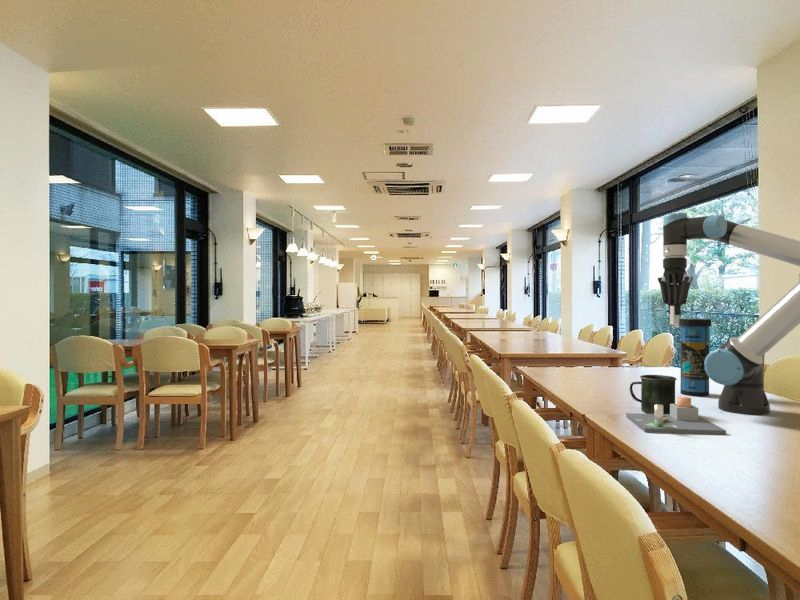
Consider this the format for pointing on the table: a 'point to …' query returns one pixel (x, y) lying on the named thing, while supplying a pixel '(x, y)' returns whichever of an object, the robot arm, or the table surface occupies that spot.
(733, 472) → the table surface
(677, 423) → the tuner board
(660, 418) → the brass ball-ended crank
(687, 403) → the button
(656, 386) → the mug
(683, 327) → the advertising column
